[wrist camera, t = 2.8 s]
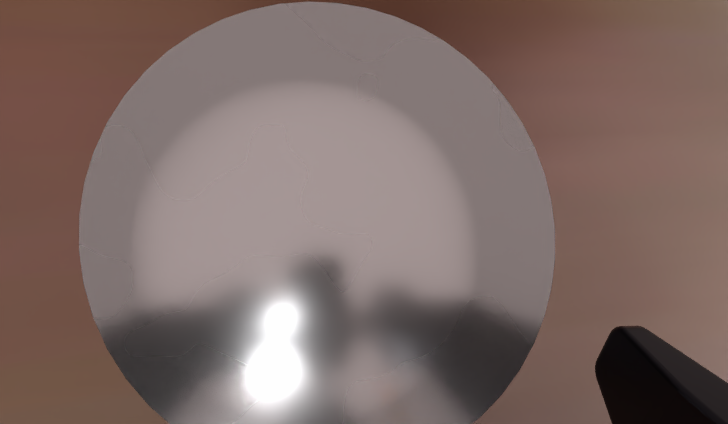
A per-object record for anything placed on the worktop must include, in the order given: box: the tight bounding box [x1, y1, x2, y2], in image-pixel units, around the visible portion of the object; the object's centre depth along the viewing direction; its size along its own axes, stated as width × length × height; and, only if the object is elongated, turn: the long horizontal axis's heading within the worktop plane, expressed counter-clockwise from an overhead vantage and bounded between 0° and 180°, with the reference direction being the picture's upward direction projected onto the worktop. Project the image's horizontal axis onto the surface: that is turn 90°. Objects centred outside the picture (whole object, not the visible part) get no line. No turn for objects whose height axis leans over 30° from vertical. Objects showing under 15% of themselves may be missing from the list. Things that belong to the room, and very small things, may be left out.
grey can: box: [79, 2, 555, 424], centre depth 14 cm, size 6×6×12 cm
